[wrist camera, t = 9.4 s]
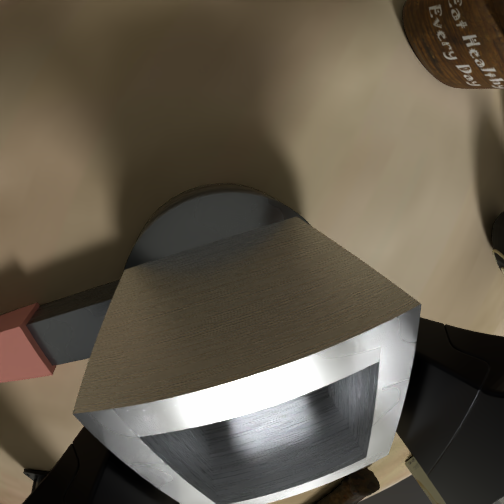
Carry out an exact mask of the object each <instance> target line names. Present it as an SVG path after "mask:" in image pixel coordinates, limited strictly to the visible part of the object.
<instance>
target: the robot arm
mask: <svg viewBox="0 0 504 504" xmlns="http://www.w3.org/2000/svg"><path fill="white" fill-rule="evenodd" d="M396 432H397V434H398V435H399V436H400V438H401V439H402V441H403V442H404V443H405V445H406V446H407V448H408V449H409V451H410V452H411V453H412V455H413V456H414V458H415V459H416V461H417V462H418V463H419V465H420V466H421V468H422V469H423V471H424V472H425V474H426V475H427V477H428V478H429V480H430V481H431V482H432V484H433V485H434V487H435V488H436V490H437V491H438V493H439V494H440V496H441V497H442V498H443V500H444V501H445V503H446V504H494V503H495V502H497V501H498V500H499V501H500V502H501V503H502V504H504V337H502V336H496V335H490V334H485V333H479V332H474V331H470V330H466V329H462V328H458V327H454V326H450V325H447V324H446V325H444V324H443V323H439V322H435V321H432V320H428V319H425V318H421V317H420V319H419V327H418V334H417V341H416V347H415V353H414V359H413V364H412V369H411V374H410V379H409V383H408V388H407V392H406V396H405V400H404V404H403V408H402V412H401V415H400V419H399V422H398V426H397V429H396ZM23 473H24V474H25V475H27V476H28V477H29V478H31V479H32V480H33V481H34V482H33V487H32V492H31V494H30V495H29V496H28V498H27V499H26V500H25V501H24V502H23V503H22V504H180V503H179V502H178V501H176V500H174V499H173V498H171V497H170V496H168V495H167V494H165V493H164V492H162V491H161V490H159V489H158V488H157V487H155V486H154V485H152V484H151V483H150V482H148V481H147V480H146V479H144V478H143V477H142V476H140V475H139V474H138V473H136V472H135V471H134V470H133V469H131V468H130V467H129V466H128V465H126V464H125V463H124V462H123V461H122V460H120V459H119V458H118V457H117V456H116V455H115V454H113V453H112V452H111V451H110V450H109V449H108V448H107V447H106V446H104V445H103V444H102V443H101V442H100V441H99V440H98V439H97V438H96V437H95V436H94V435H93V434H92V433H91V432H90V431H89V430H88V429H87V428H86V427H85V426H84V427H83V428H82V430H81V431H80V432H79V434H78V435H77V436H76V438H75V439H74V441H73V444H70V446H69V447H68V449H67V450H66V451H65V453H64V454H63V455H62V457H61V458H60V459H59V461H58V462H57V463H56V465H55V466H54V467H53V468H52V470H51V471H50V472H42V471H34V470H27V469H24V472H23Z"/></svg>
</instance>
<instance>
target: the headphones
mask: <svg viewBox="0 0 504 504" xmlns="http://www.w3.org/2000/svg"><path fill="white" fill-rule="evenodd" d="M492 243H493V251H492V252H493V255H494V258H495V260H496V262H497V264H498V266H499V268H500V270H501V271H502V273H503V275H504V212H503V213H501V214H500V216H499V217H498V218H497V219H496V221H495V223H494V225H493V231H492Z"/></svg>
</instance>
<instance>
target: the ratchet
mask: <svg viewBox="0 0 504 504" xmlns="http://www.w3.org/2000/svg"><path fill="white" fill-rule="evenodd" d="M293 217H298V218H300V219H301V220H303V221H304V222H306V223H307V224H309V223H308V222H307V221H306V220H305V219H304V218H303V217H302V216H300V215H299V214H298V213H296V212H295V211H293V210H292V209H291V208H289V207H287V206H286V205H284V204H282V203H281V202H279V201H277V200H276V199H274V198H272V197H271V196H269V195H267V194H265V193H263V192H261V191H259V190H256V189H253V188H250V187H247V186H242V185H237V184H223V183H221V184H210V185H205V186H200V187H196V188H193V189H191V190H188V191H185V192H183V193H181V194H179V195H177V196H176V197H174V198H172V199H171V200H169V201H168V202H167V203H165V204H164V205H163V206H161V207H160V208H159V209H158V210H157V211H156V212H155V213H154V214H153V215H152V217H151V218H150V219H149V221H148V222H147V223H146V225H145V226H144V228H143V230H142V232H141V234H140V236H139V237H138V239H137V241H136V243H135V245H134V247H133V249H132V251H131V253H130V256H129V258H128V260H127V263H126V266H125V269H124V271H125V270H126V269H129V268H132V267H135V266H138V265H141V264H145V263H148V262H151V261H154V260H157V259H160V258H163V257H166V256H169V255H172V254H176V253H179V252H182V251H185V250H188V249H191V248H195V247H198V246H201V245H204V244H207V243H211V242H214V241H217V240H220V239H224V238H227V237H230V236H233V235H237V234H240V233H243V232H246V231H250V230H253V229H256V228H260V227H263V226H266V225H270V224H273V223H276V222H280V221H283V220H287V219H290V218H293ZM309 225H310V224H309ZM310 226H311V225H310ZM123 273H124V272H123ZM119 282H120V280H118V281H115V282H111V283H108V284H105V285H102V286H99V287H96V288H93V289H90V290H87V291H84V292H81V293H78V294H75V295H72V296H69V297H66V298H63V299H60V300H56V301H53V302H50V303H47V304H44V305H42V306H39V304H38V302H37V303H34V304H31V305H29V306H26V307H23V308H20V309H17V310H14V311H11V312H9V313H6V314H3V315H0V383H1V382H9V381H16V380H23V379H30V378H37V377H43V376H49V375H53V372H54V370H55V368H56V365H59V364H64V363H69V362H73V361H78V360H83V359H87V358H90V356H91V353H92V350H93V347H94V344H95V342H96V339H97V336H98V333H99V331H100V328H101V326H102V323H103V320H104V318H105V315H106V313H107V310H108V308H109V305H110V303H111V300H112V298H113V296H114V293H115V291H116V289H117V286H118V284H119Z"/></svg>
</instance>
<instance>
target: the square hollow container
mask: <svg viewBox="0 0 504 504" xmlns="http://www.w3.org/2000/svg"><path fill="white" fill-rule="evenodd" d="M420 311H421V303H419V302H418V301H417V300H415V299H414V298H413V297H411V296H410V295H409V294H407V293H406V292H405V291H403V290H402V289H401V288H399V287H398V286H397V285H395V284H394V283H392V282H391V281H390V280H388V279H387V278H386V277H384V276H383V275H381V274H380V273H379V272H377V271H376V270H374V269H373V268H372V267H370V266H369V265H367V264H366V263H365V262H363V261H362V260H360V259H359V258H358V257H356V256H355V255H353V254H352V253H350V252H349V251H347V250H346V249H345V248H343V247H342V246H340V245H339V244H337V243H336V242H334V241H333V240H331V239H330V238H328V237H327V236H325V235H324V234H322V233H321V232H319V231H318V230H316V229H315V228H313V227H312V226H310V225H309V224H307V223H306V222H304V221H303V220H301V219H300V218H298V217H293V218H290V219H287V220H283V221H280V222H276V223H273V224H270V225H266V226H263V227H260V228H256V229H253V230H250V231H246V232H243V233H240V234H237V235H233V236H230V237H227V238H224V239H220V240H217V241H214V242H211V243H207V244H204V245H201V246H198V247H195V248H191V249H188V250H185V251H182V252H179V253H176V254H172V255H169V256H166V257H163V258H160V259H157V260H154V261H151V262H148V263H145V264H141V265H138V266H135V267H132V268H129V269H126V270H125V271H124V273H123V275H122V277H121V279H120V282H119V284H118V286H117V289H116V291H115V293H114V296H113V298H112V300H111V303H110V305H109V308H108V310H107V313H106V315H105V318H104V320H103V323H102V326H101V328H100V331H99V333H98V336H97V339H96V342H95V344H94V347H93V350H92V353H91V356H90V359H89V362H88V365H87V368H86V371H85V374H84V377H83V380H82V383H81V386H80V390H79V393H78V396H77V400H76V403H75V407H74V411H73V415H74V416H75V417H76V418H77V419H78V420H79V421H80V422H81V423H82V424H83V425H84V426H85V427H86V428H87V429H88V430H89V431H90V432H91V433H92V434H93V435H94V436H95V437H96V438H97V439H98V440H99V441H100V442H101V443H102V444H103V445H104V446H106V447H107V448H108V449H109V450H110V451H111V452H112V453H113V454H115V455H116V456H117V457H118V458H119V459H120V460H122V461H123V462H124V463H125V464H126V465H128V466H129V467H130V468H131V469H133V470H134V471H135V472H136V473H138V474H139V475H140V476H142V477H143V478H144V479H146V480H147V481H148V482H150V483H151V484H152V485H154V486H155V487H157V488H158V489H159V490H161V491H162V492H164V493H165V494H167V495H168V496H170V497H171V498H173V499H174V500H176V501H178V502H179V503H181V504H266V503H270V502H274V501H277V500H281V499H284V498H287V497H290V496H294V495H297V494H300V493H303V492H306V491H308V490H311V489H314V488H317V487H319V486H322V485H325V484H327V483H330V482H332V481H334V480H337V479H339V478H342V477H344V476H346V475H348V474H351V473H353V472H355V471H357V470H359V469H361V468H363V467H365V466H367V465H369V464H371V463H373V462H375V461H377V460H379V459H381V458H383V457H385V456H386V455H388V454H389V451H390V448H391V445H392V442H393V439H394V436H395V432H396V429H397V426H398V422H399V419H400V415H401V412H402V408H403V404H404V400H405V396H406V392H407V388H408V383H409V379H410V374H411V369H412V364H413V359H414V353H415V347H416V341H417V334H418V327H419V319H420Z"/></svg>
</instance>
